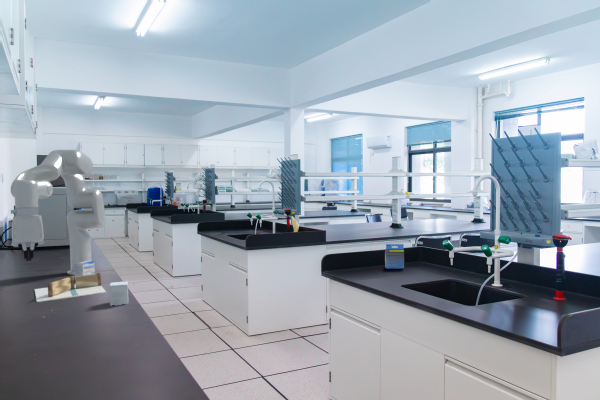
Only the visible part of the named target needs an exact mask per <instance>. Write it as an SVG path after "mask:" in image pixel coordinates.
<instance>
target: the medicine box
mask: <svg viewBox="0 0 600 400" xmlns="http://www.w3.org/2000/svg"><path fill="white" fill-rule="evenodd" d="M91 260H92V259H91ZM91 260H88V261H83V262H79V263H75V264H74V269H75V275H74V277H75V276H84V275H93V274H95V272H94V269H95V261H94V260H92V261H91ZM74 283H76V279H75V278H74Z"/></svg>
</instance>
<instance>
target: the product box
mask: <svg viewBox="0 0 600 400" xmlns="http://www.w3.org/2000/svg"><path fill="white" fill-rule="evenodd" d="M122 304H125V305H129V283H128V280H126V281H116V282H110V283H109V305H110V306H111V307H113V306H112V305H115V306H123V305H122Z"/></svg>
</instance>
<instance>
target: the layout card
mask: <svg viewBox="0 0 600 400" xmlns="http://www.w3.org/2000/svg"><path fill="white" fill-rule="evenodd" d="M74 284H75V289H70V290H67V291H64V292H61V293H59V294H56V295H53V296H52V297H48V287H40V288H34V294H35V301H36V303H43V302H49V301H50V302H51V301H56V300H65V299H69V298H79V297H85V296H92V295H99V294H106V293H107V291H106V290H105V288H104V287H103V286H102V284H101V285H99V286H91V287H83V288H76V283H74Z"/></svg>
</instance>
